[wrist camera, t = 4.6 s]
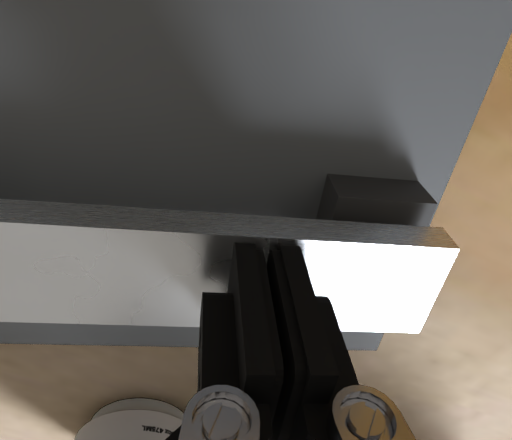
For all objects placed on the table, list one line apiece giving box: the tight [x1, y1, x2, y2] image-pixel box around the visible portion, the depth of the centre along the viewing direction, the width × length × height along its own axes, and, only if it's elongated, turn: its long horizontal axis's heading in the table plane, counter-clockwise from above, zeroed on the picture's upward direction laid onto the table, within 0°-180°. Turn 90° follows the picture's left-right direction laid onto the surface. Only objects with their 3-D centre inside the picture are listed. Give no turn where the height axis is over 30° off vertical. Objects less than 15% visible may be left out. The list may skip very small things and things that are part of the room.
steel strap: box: [0, 198, 460, 333], centre depth 11 cm, size 16×3×2 cm, turn 82°
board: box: [0, 0, 512, 350], centre depth 10 cm, size 18×24×3 cm
